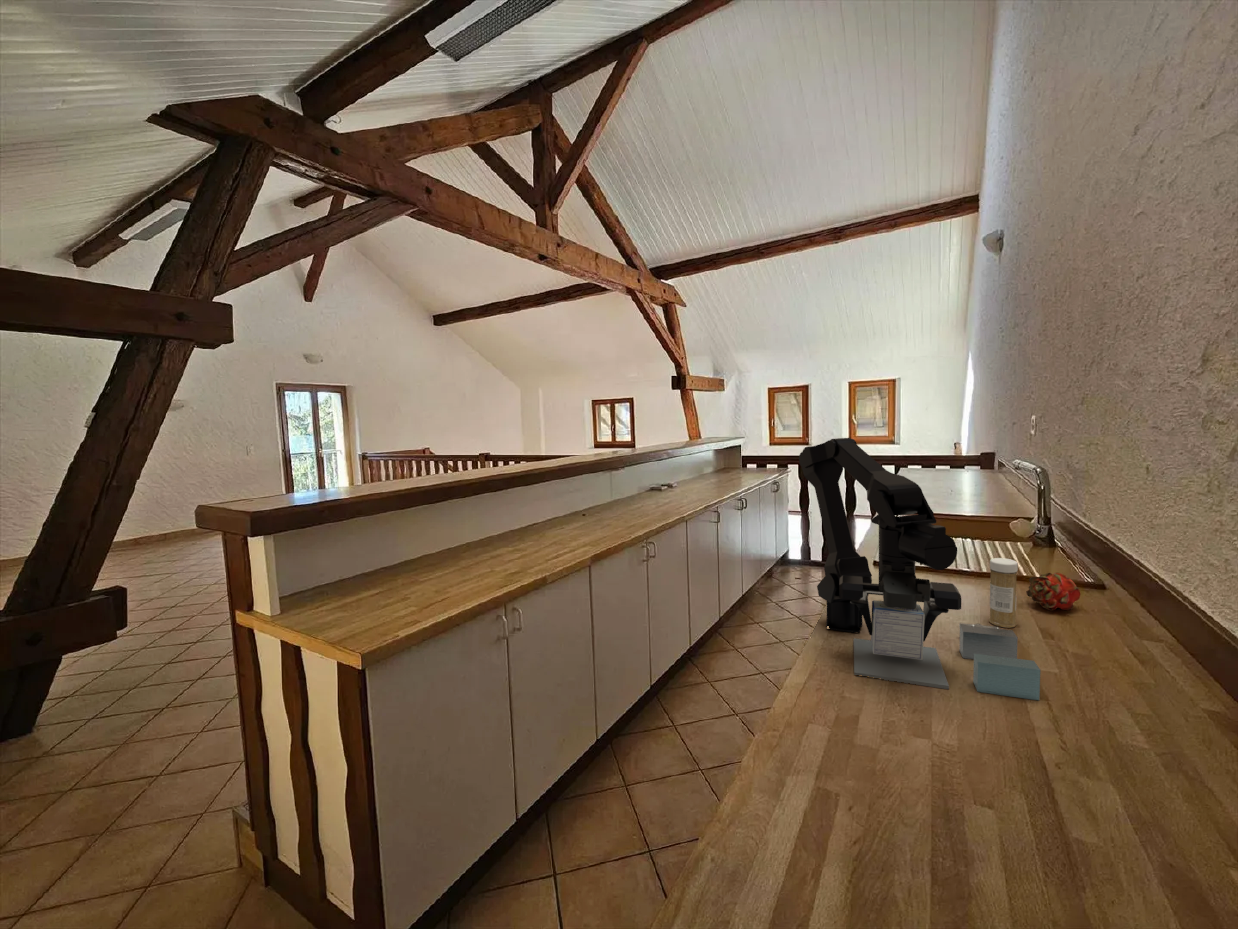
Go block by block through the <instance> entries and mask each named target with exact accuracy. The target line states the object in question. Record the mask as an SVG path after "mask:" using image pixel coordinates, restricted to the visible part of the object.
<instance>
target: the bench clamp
mask: <svg viewBox="0 0 1238 929" xmlns="http://www.w3.org/2000/svg"><path fill="white" fill-rule="evenodd" d="M958 624H959V653H960V655H961V657H962V659H967V660H968V659H969V660H973V677H972V678H973V679H972V680H973V681H972V682H973V685H974V686H975V690H976V692H977V693H984V694H991V695H998V696H1005V697H1013V698H1017V699H1018V698H1019V699H1025V700H1033V701H1040V698H1041V697H1040V696H1041V695H1040V694H1041V693H1040V691H1041V668H1040V667H1039V666H1038V665H1037V663H1036V662H1035V660H1031V659H1024V658H1023V659H1022V658H1018V636H1017V635H1016V633H1015V631H1014V630H1013V629H1004V628H1003V629H1001V627H999V626H996V625H993V626H992V625H983V624H981V623H974V624H973V623H963V622H959V623H958Z"/></svg>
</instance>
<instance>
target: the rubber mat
mask: <svg viewBox="0 0 1238 929" xmlns="http://www.w3.org/2000/svg"><path fill="white" fill-rule="evenodd" d="M944 670H945V669H944V668H943V665H942V662H941V658H940V656H939V654H938V651H937V648H936V647H930V646H923V660H920V659H911V658H903V657H895V656H887V655H878V654H873V650H872V645H871V639H862V638H856V637H854V638H853V672H854V675H862V676H869V677H874V678H881V679H884V680H883V681H888V680H889V682H894V681H897V682H896V683H901V682H904V683H903V684H908V683H910V685H915V684H916V686H922V687H930V688H936V689H937V688H938V689H945V690H950V685H949V682H948V680H947V676H946V674H945V671H944ZM854 675H853V676H854ZM874 678H873V679H874ZM881 679H880V680H881Z"/></svg>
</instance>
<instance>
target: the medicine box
mask: <svg viewBox="0 0 1238 929" xmlns="http://www.w3.org/2000/svg"><path fill="white" fill-rule="evenodd" d="M924 619H925V614H924V613H923V609H922V607H921V605H920V604H918V603H917V605H916V608H915V609H912V610H910V609H906V608H899V607H894V608H890V607H887V606H885V605H884V601H883V600H874V599H873V600H872V601H871V623H872V635H870V640H871V645H872V650H873V654H878V655H887V656H895V657H903V658H911V659H920V660H923V647H924V642H923V639H924Z"/></svg>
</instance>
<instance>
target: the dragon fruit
mask: <svg viewBox="0 0 1238 929" xmlns="http://www.w3.org/2000/svg"><path fill="white" fill-rule="evenodd" d="M1028 581H1029V586H1028V590H1026V595H1027V596H1028V597H1030V598H1031V600H1032V602H1035V603H1038V604H1040V605H1041V607H1042V608H1044V609H1046V610H1048V611H1051V612H1052V611H1055V610H1057V608H1059V609H1061V610H1063V611H1069V612H1070V611H1072V610H1073V609H1074V603H1075V602H1077V601H1078V600H1080V598H1081V590H1080V589H1079V587H1077V584H1075V582H1074V581H1073V580H1072V579H1071V578H1070V577H1067V576H1066V575H1065V573H1063V572H1054V573H1051V572H1047V573H1043V574H1040V575H1039V576H1031V577H1030V578H1029V580H1028Z"/></svg>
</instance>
